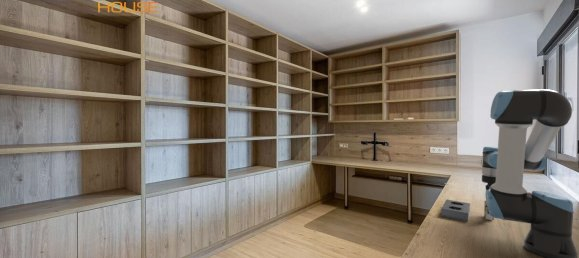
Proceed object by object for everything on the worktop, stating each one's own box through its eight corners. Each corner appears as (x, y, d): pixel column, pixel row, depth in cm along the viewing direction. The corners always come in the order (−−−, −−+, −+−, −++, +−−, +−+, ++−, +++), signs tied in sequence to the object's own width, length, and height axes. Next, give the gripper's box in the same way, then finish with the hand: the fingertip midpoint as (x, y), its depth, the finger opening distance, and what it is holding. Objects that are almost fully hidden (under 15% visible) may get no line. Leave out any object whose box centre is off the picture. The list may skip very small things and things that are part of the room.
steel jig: (467, 221, 134) (468, 213, 134) (441, 216, 142) (441, 208, 142) (469, 211, 152) (470, 203, 152) (446, 206, 159) (446, 199, 159)
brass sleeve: (492, 220, 138) (493, 203, 137) (482, 217, 141) (483, 201, 141) (495, 218, 140) (496, 202, 140) (485, 216, 144) (486, 200, 144)
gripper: (500, 179, 130) (498, 224, 131) (498, 173, 146) (497, 214, 146) (481, 177, 135) (480, 221, 135) (482, 172, 150) (480, 211, 151)
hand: (489, 217), depth 141 cm, fingers open, 6 cm apart
